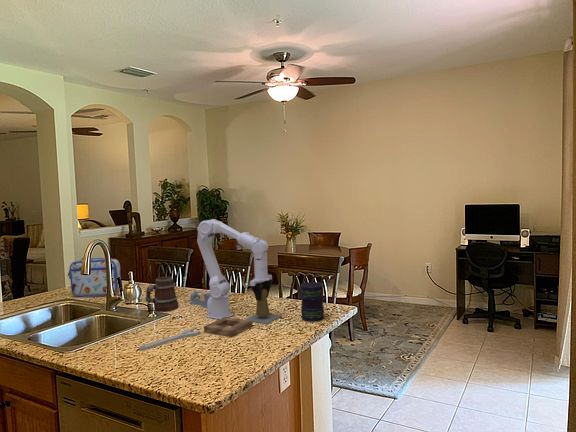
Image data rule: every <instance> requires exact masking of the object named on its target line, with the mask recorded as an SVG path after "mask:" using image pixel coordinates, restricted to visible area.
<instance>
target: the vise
mask: <svg viewBox="0 0 576 432" xmlns="http://www.w3.org/2000/svg"><path fill="white" fill-rule="evenodd" d="M183 295H184V297H187V296H188V295H190V301H189V305H198V306H201V307H202V308H203V309H204V308H205V309H206V308H207V302H208V299H209V298H210V297H211V295H210V290H209V291H206V292H202V289H199V290H198V291H197V290H195V291H193V290H192V291H190V292H189V293H187V292H185V293H184V294H183Z"/></svg>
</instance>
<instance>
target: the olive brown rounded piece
mask: <svg viewBox="0 0 576 432" xmlns="http://www.w3.org/2000/svg"><path fill="white" fill-rule="evenodd" d="M267 294H268V292H267V290H266V289H262V294H261V301H258V300H256V310H255V314H256V315H258V316H265V315H269V314H271V313H270V309H269V304H268V299H267V298H268V297H266V296H267ZM268 295H269V294H268Z"/></svg>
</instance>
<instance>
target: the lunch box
mask: <svg viewBox="0 0 576 432" xmlns="http://www.w3.org/2000/svg"><path fill="white" fill-rule="evenodd" d="M90 258H91V274H90V275H88V276H82V275H81V274H80V271H81V265H82V260H83V257H82V258H81V259H80V260H75V261H72V262H71V264H70V265H69V268H68V272H67V277H68V279H69V280H70V281H69V282H70V288H71V289H70V290H71V293H72V295H73V296H75V297H78V298H91V297H93V298H95V297H102V296H103V297H104V296H107V295H106V289H107V284H106V267H105V258H103V257H96V258H95V257H93V258H92V257H90ZM110 259H111V264H112V278H113V287H114V294H115V293H117V292H119V291H120V290H119V287H118V282H117V278H118V277H120V278H121V264H120V262H119V260H118V259H116V258H110Z"/></svg>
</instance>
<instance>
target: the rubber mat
mask: <svg viewBox="0 0 576 432" xmlns="http://www.w3.org/2000/svg"><path fill="white" fill-rule="evenodd" d="M282 316H283V315H281V314H275V313H270V314H269V315H265V316H258V315H256V313H255V314H253V315H251V316H249V317H247V318H243V319H244V320H250V321H252V323H255V324H261V325H269V324H270V323H273V322H274V321H276V320H278V319H279V318H282Z"/></svg>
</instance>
